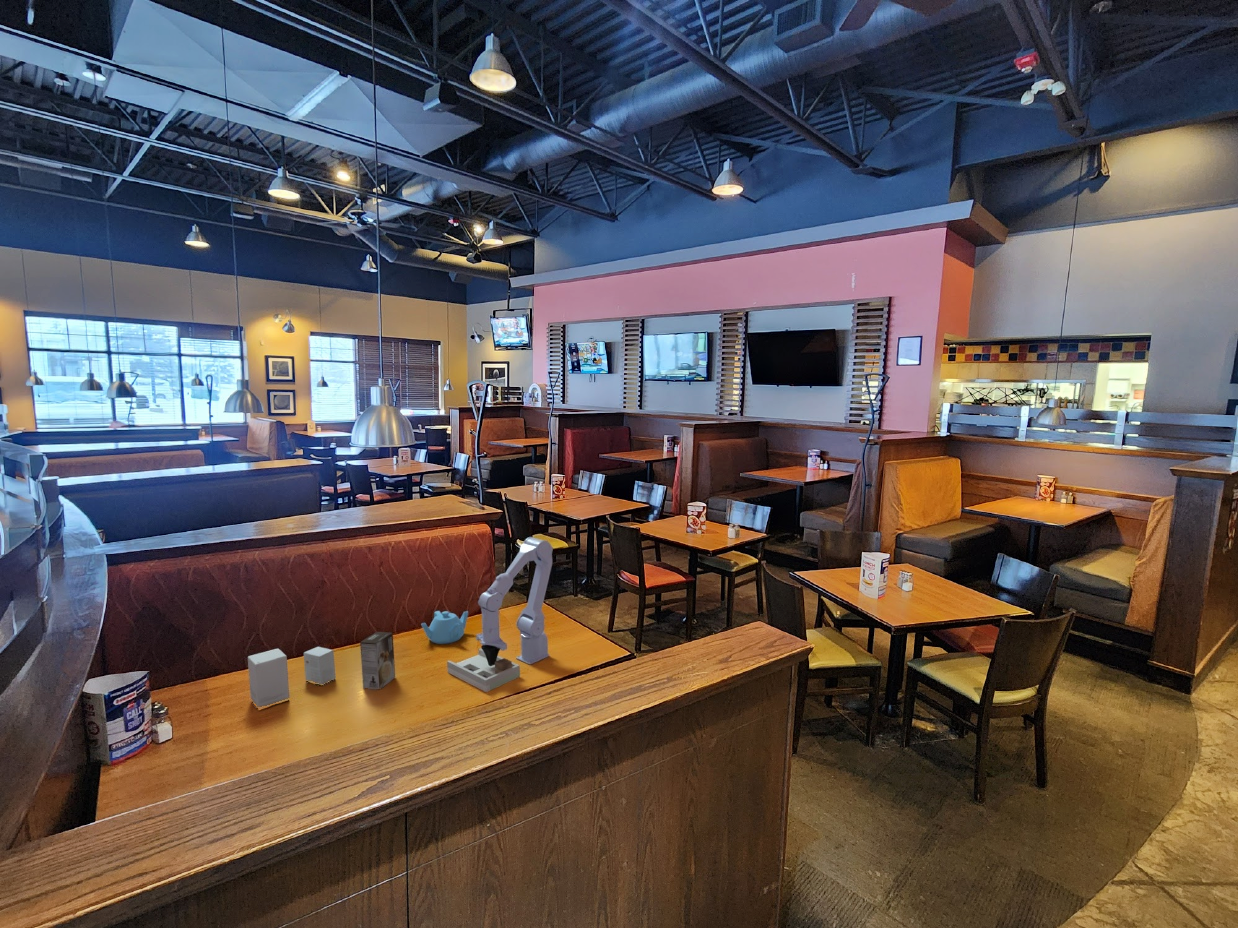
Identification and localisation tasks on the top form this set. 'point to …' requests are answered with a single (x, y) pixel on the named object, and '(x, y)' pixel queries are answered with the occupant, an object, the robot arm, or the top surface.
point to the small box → (319, 665)
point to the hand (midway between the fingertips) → (492, 664)
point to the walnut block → (502, 665)
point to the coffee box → (377, 660)
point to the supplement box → (268, 677)
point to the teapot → (446, 627)
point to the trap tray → (482, 672)
